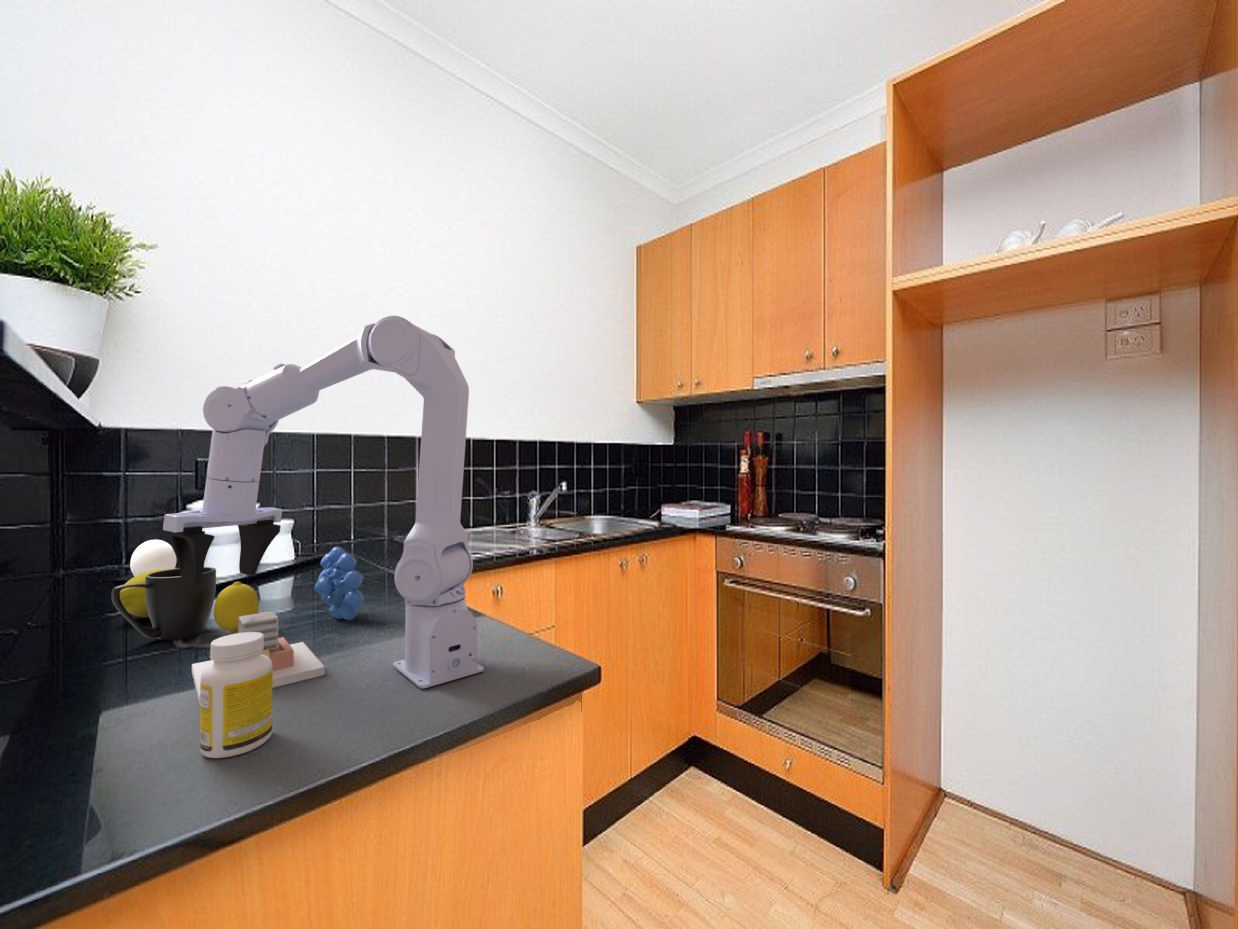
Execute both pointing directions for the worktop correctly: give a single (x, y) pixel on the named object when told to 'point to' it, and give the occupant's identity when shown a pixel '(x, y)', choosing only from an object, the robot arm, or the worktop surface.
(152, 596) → the mug
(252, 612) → the lemon
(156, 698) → the worktop surface
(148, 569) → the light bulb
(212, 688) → the supplement bottle
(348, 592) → the grapes
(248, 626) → the column
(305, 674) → the stand base
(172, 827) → the worktop surface
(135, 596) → the lemon
